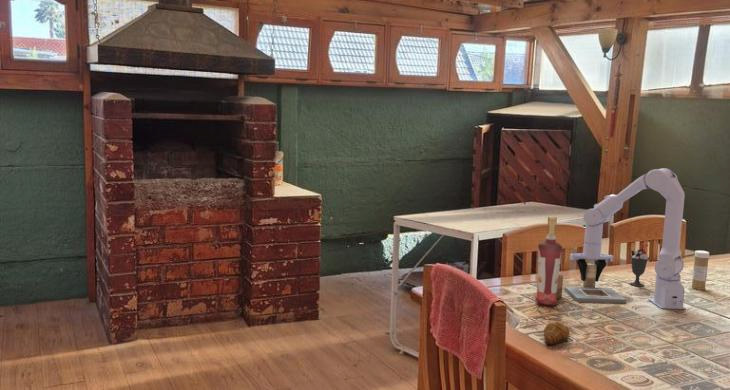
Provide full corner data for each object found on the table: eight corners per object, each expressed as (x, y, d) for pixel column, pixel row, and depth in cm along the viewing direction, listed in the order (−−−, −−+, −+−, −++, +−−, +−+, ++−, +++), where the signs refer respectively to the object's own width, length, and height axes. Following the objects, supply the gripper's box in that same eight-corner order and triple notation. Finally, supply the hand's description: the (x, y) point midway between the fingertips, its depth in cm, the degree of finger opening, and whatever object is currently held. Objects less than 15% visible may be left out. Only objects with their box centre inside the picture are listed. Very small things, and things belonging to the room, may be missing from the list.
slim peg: (596, 289, 222) (598, 266, 221) (585, 288, 222) (587, 266, 221) (592, 285, 226) (594, 263, 225) (581, 285, 226) (583, 263, 225)
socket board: (626, 303, 207) (626, 299, 207) (576, 301, 207) (577, 297, 207) (610, 291, 220) (611, 287, 220) (564, 289, 220) (564, 286, 220)
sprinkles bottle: (694, 285, 231) (698, 249, 229) (707, 288, 227) (711, 252, 225) (688, 287, 228) (692, 251, 226) (702, 291, 224) (706, 253, 222)
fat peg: (564, 298, 210) (566, 278, 209) (542, 298, 210) (544, 277, 209) (557, 292, 217) (559, 272, 216) (536, 291, 217) (538, 271, 216)
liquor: (558, 308, 199) (565, 220, 195) (534, 306, 201) (541, 218, 197) (556, 301, 206) (563, 216, 202) (533, 299, 208) (539, 214, 204)
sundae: (650, 287, 226) (654, 246, 224) (631, 287, 226) (635, 245, 224) (642, 282, 233) (646, 242, 230) (624, 282, 233) (627, 241, 231)
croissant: (551, 329, 180) (553, 312, 180) (576, 335, 176) (577, 318, 176) (535, 343, 169) (536, 325, 168) (560, 350, 165) (562, 331, 165)
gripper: (609, 240, 226) (605, 278, 228) (568, 239, 226) (565, 276, 228) (617, 245, 219) (613, 283, 221) (574, 243, 219) (571, 282, 221)
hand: (589, 280), depth 224 cm, fingers closed on slim peg, 4 cm apart
